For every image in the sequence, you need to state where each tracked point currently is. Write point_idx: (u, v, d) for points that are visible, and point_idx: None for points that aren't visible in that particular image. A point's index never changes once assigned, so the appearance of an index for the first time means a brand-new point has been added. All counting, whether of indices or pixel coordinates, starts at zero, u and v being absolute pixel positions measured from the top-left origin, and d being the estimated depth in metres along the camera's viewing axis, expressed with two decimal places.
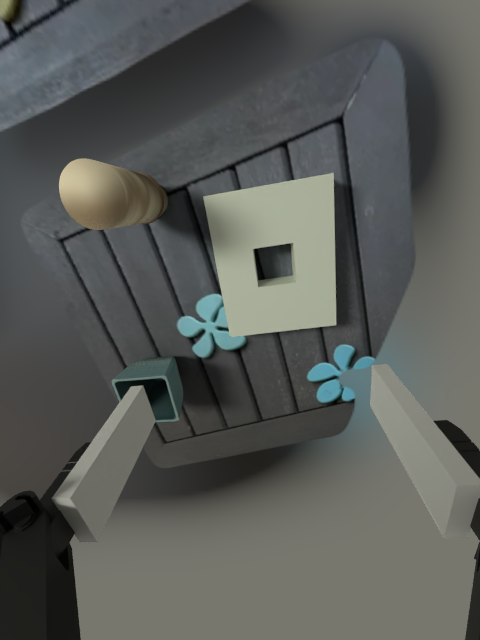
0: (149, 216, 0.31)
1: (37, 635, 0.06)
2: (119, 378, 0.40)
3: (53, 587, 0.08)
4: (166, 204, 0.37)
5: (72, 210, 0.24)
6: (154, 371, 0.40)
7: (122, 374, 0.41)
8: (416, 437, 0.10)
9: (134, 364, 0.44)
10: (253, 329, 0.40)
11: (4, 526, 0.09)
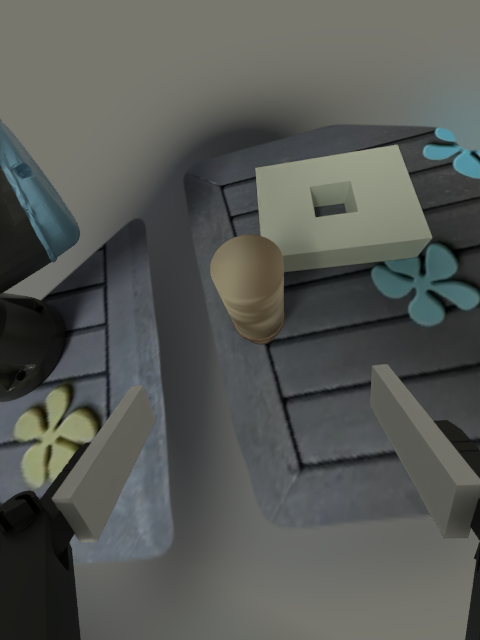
0: None
1: (37, 635, 0.06)
2: None
3: (53, 587, 0.08)
4: None
5: (259, 289, 0.20)
6: None
7: None
8: (416, 437, 0.10)
9: None
10: (415, 213, 0.32)
11: (4, 526, 0.09)
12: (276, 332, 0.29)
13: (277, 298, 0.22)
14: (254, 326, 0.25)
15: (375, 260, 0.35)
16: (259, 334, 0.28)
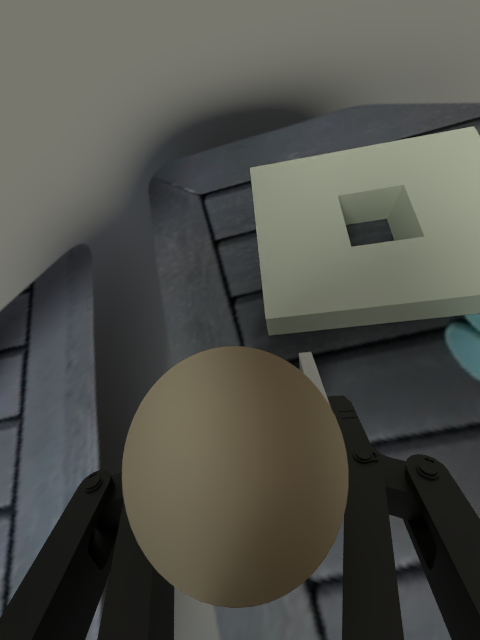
0: None
1: (145, 578, 0.07)
2: None
3: None
4: None
5: (271, 568, 0.06)
6: None
7: None
8: None
9: None
10: None
11: None
12: None
13: None
14: None
15: (451, 314, 0.21)
16: None
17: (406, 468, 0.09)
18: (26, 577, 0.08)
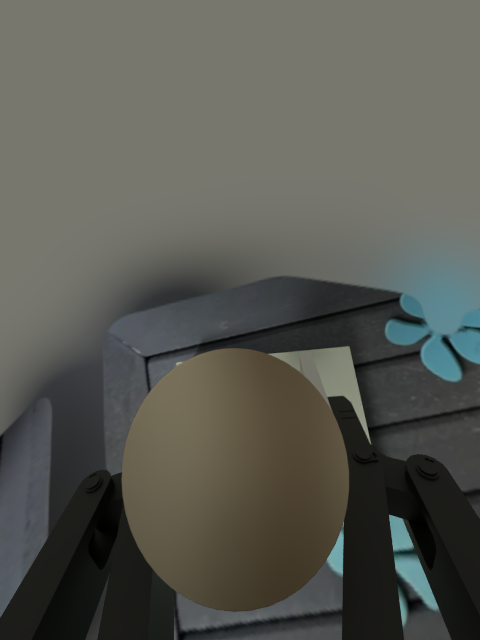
0: None
1: (145, 578, 0.07)
2: None
3: None
4: None
5: (272, 571, 0.06)
6: None
7: None
8: None
9: None
10: None
11: None
12: None
13: None
14: None
15: None
16: None
17: (406, 468, 0.09)
18: (26, 576, 0.08)
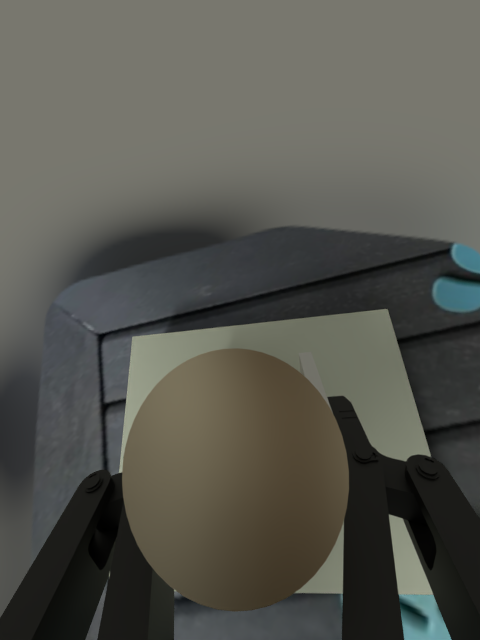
0: None
1: (145, 578, 0.07)
2: None
3: None
4: None
5: (272, 571, 0.06)
6: None
7: None
8: None
9: None
10: None
11: None
12: None
13: None
14: None
15: None
16: None
17: (406, 468, 0.09)
18: (26, 576, 0.08)
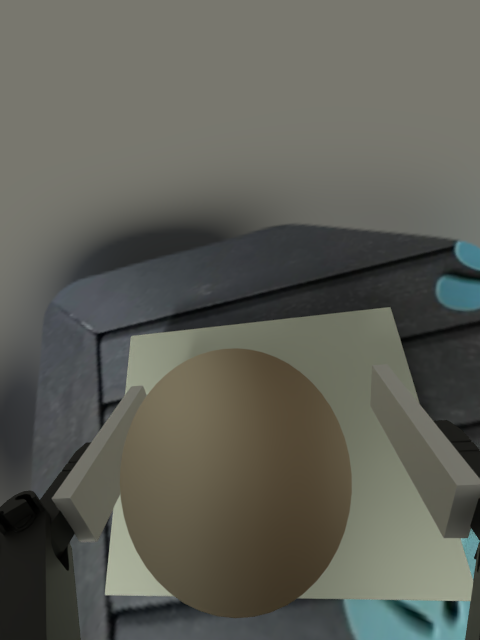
0: None
1: (37, 635, 0.06)
2: None
3: (53, 587, 0.08)
4: None
5: (273, 576, 0.06)
6: None
7: None
8: (416, 437, 0.10)
9: None
10: None
11: (4, 526, 0.09)
12: None
13: None
14: None
15: None
16: None
17: None
18: None
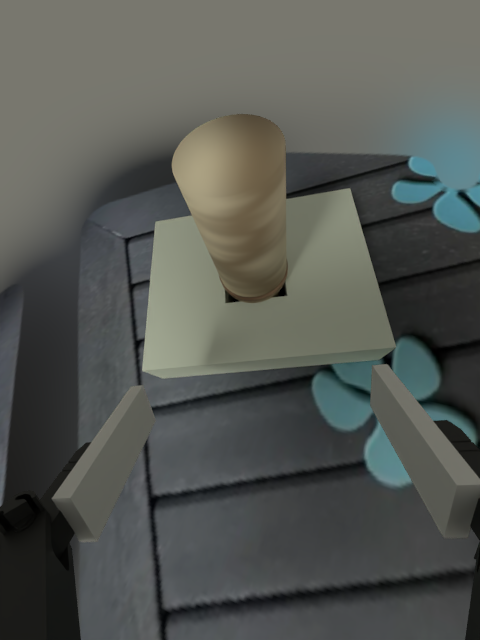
0: None
1: (37, 635, 0.06)
2: None
3: (53, 587, 0.08)
4: None
5: (246, 181, 0.12)
6: None
7: None
8: (416, 437, 0.10)
9: None
10: (370, 302, 0.21)
11: (4, 526, 0.09)
12: (277, 287, 0.22)
13: (276, 213, 0.15)
14: (244, 269, 0.18)
15: (318, 364, 0.23)
16: (254, 287, 0.20)
17: None
18: None
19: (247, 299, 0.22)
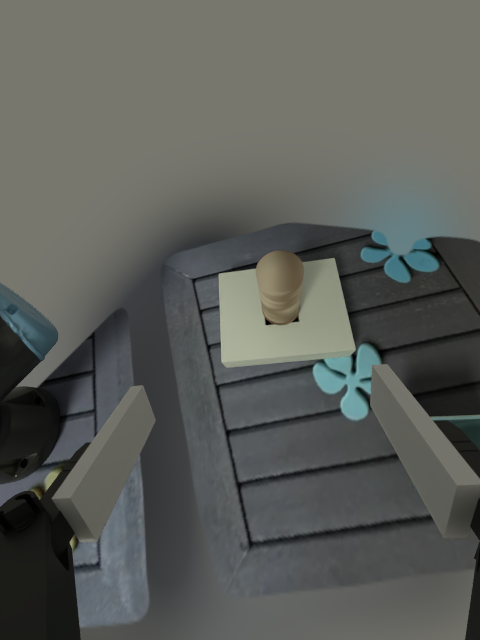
0: None
1: (37, 635, 0.06)
2: None
3: (53, 587, 0.08)
4: None
5: (289, 285, 0.31)
6: None
7: None
8: (416, 437, 0.10)
9: None
10: (343, 326, 0.40)
11: (4, 526, 0.09)
12: (294, 317, 0.40)
13: (299, 291, 0.33)
14: (281, 312, 0.37)
15: (316, 358, 0.42)
16: (283, 318, 0.39)
17: None
18: None
19: (278, 324, 0.41)
